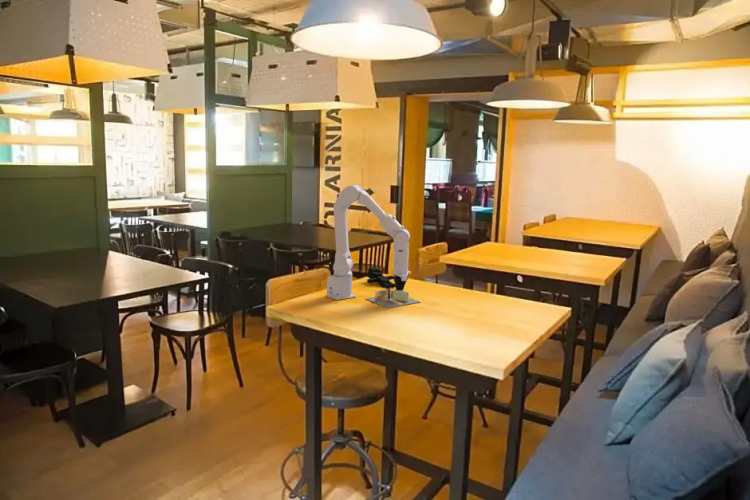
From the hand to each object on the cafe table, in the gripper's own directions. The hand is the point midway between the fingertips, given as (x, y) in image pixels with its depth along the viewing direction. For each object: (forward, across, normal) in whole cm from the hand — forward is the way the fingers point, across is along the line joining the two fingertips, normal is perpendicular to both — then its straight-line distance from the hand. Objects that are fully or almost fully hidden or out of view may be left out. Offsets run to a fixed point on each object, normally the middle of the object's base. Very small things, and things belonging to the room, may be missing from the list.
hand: (399, 294), depth 211 cm
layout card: (+2, -1, +3) cm, 4 cm away
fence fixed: (+2, 0, +7) cm, 7 cm away
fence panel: (+2, -1, 0) cm, 2 cm away
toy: (+3, +25, +2) cm, 25 cm away
